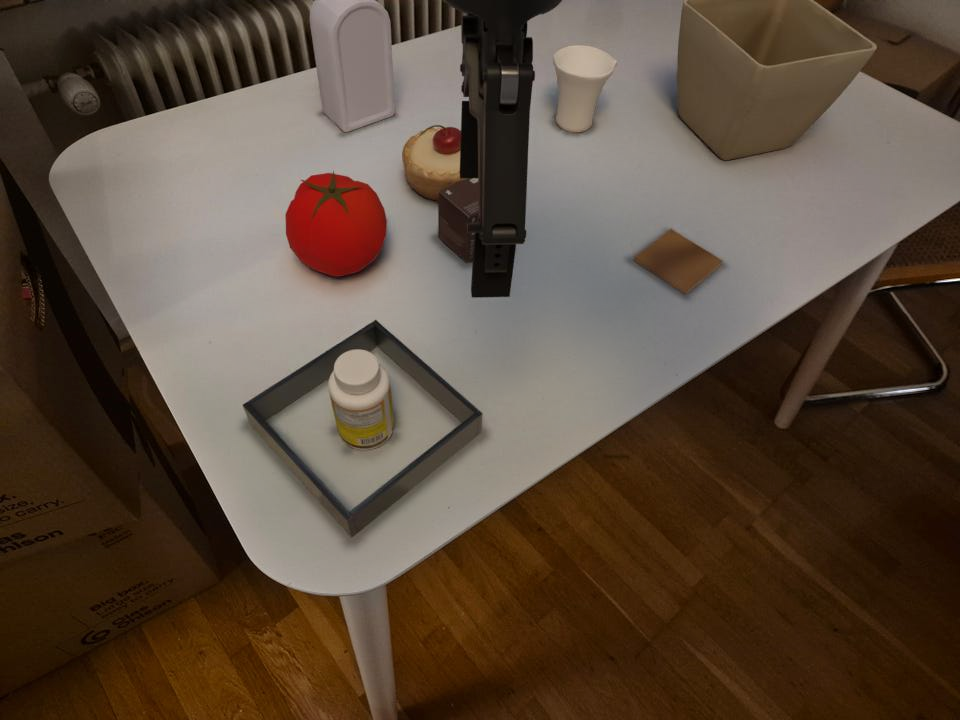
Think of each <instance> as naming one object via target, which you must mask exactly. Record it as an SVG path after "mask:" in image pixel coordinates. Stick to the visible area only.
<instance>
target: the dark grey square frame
mask: <svg viewBox="0 0 960 720" xmlns="http://www.w3.org/2000/svg"><path fill="white" fill-rule="evenodd" d="M375 348H379V349H380V350H381V351H382V352H383V353H384V354H385V355H386V356H388V358H389V359H391V360H392V361H393V362H394V363H395V364H396V365H397V366H399V367H400V368H401V369H402V370H403V371H404V372H405V373H406V374H407V375H408V376H409V377H411V378H412V379H413V380H414V381H415V382H416V383H417V384H418V385H420V386H421V387H422V388H423V389H424V390H425V391H426V392H428V394H430V395H431V396H432V397H433V398H434V399H435V400H436V401H437V402H438V403H440V404H441V405H442V406H443V407H444V408H445V409H446V410H448V411H449V413H451V414H452V415H453V416H454V417H455V418H456V419H458V420H459V421H460V422H461V423H460V424H459V425H457V426H456V427H455V428H454V429H452V430H451V431H450V432H449V433H447V434H446V435H444V436H443V437H442V438H441V439H440V440H438V441H437V442H436V443H435V444H433V445H432V446H431V447H430V448H428V449H427V450H426V451H424V452H423V453H422V454H421V455H419V456H418V457H417V458H416V459H414V460H413V461H412V462H410V463H409V464H408V465H406V467H404V468H403V469H402V470H400V471H399V472H397V474H395V475H394V476H393V477H392V478H390V479H389V480H388V481H386V482H385V483H384V484H382V485H381V486H380V487H379V488H377V489H376V490H375V491H373V493H371V494H370V495H369V496H367V497H366V498H365V499H363V500H362V501H361V502H360V503H359V504H357V505H356V506H355V507H354V508H352V509H351V510H350V511H349V510H348V509H347V508H346V507H345V506H344V505H343V504H342V503H341V501H340V500H338V498H337V497H336V496H335V495H334V494H333V493H332V492H331V491H330V490H329V489H328V487H327V486H326V485H325V484H324V483H323V482H322V481H321V479H320V478H319V477H318V476H317V475H316V474H315V473H314V472H313V471H312V470H311V469H310V468H309V467H308V466H307V464H306V463H304V461H303V460H302V459H301V458H300V457H299V456H298V455H297V453H296V452H295V451H294V450H293V449H292V448H291V447H290V446H289V445H288V444H287V443H286V442H285V441H284V439H283V437H281V436H280V435H279V434H278V433H277V432H276V430H274V428H273V427H272V426H271V425H270V424H269V423H268V422H267V420H268V419H270V418H271V417H273V416H274V415H277V413H279V412H280V411H282V410H284V408H285V409H286V407H288V406H290V405H291V404H292V403H294V402H295V401H297V400H298V399H300V398H301V397H303V396H305V395H306V394H308V393H309V392H310V391H312V390H313V389H315V388H317V387H318V386H320V385H321V384H323V383H324V382H326V381H327V380H329V378H330V375H331V374H332V372H333V370H334V364H335V362H336V360H337V358H338V357H339V356H340V355H342V354H343V353H345V352H347V351H350V350H356V349H360V350H366V351H368V352H372V351H373V350H374V349H375ZM242 408H243V410H244V413H245V415H246V418H247V420H248V422H249V425H250V427H252V429H253V430H254V431H255V432H256V433H257V434H258V435H259V436H260V438H262V440H263V441H264V442H265V443H266V444H267V445H268V446H269V447H270V448H271V450H272V451H273V452H274V453H275V454H276V455H277V457H279V459H280V460H281V461H282V462H283V463H284V464H285V465H286V466H287V468H288V469H289V470H290V471H291V472H292V473H293V474H294V475H295V476H296V477H297V479H298V480H299V481H300V482H301V483H302V485H304V486H305V488H306V489H307V490H308V491H309V492H310V494H312V496H313V497H314V498H315V499H316V500H317V501H318V502H319V503H320V505H322V507H323V508H324V509H325V510H326V511H327V512H328V513H329V515H331V516H332V518H333V519H334V520H335V521H336V522H337V523H338V525H340V526H341V527H342V529H343V530H344V531H345V532H346V533H347V534H348V535H349V537H350V538H353V537H354V536H356V535H357V534H358V533H359V532H361V531H362V530H363V529H365V528H366V527H367V526H368V525H369V524H370V523H372V522H373V521H374V520H376V519H377V518H378V517H379V516H381V515H382V514H383V513H384V512H385V511H386V510H388V509H389V508H390V507H392V506H393V505H394V504H395V503H396V502H397V501H399V500H400V499H401V498H402V497H404V496H405V495H406V494H407V493H409V492H410V491H411V490H412V489H413V488H415V487H416V486H417V485H418V484H420V483H421V482H422V481H423V480H425V479H426V478H427V477H428V476H429V475H431V474H432V473H433V472H434V471H436V470H437V469H438V468H439V467H441V466H442V465H443V464H444V463H446V461H448V460H450V458H451V457H452V456H454V455H455V454H457V453H458V452H459V451H460V450H462V448H464V447H465V446H466V445H468V444H469V443H470V442H471V441H473V440H474V439H475V438H476V437H477V436H479V434H481V433H482V425H483V423H482V422H483V414H484V413H483V412H482V411H481V410H480V409H478V408H477V407H476V406H475V405H474V404H473V403H472V402H470V401H469V400H468V399H467V398H466V397H465V396H464V395H463V394H462V393H460V392H459V391H458V390H456V389H455V387H453V386H452V385H451V384H450V383H449V382H447V381H446V380H445V379H444V378H443V377H442V376H441V375H440V374H439V373H437V372H436V371H435V370H434V369H433V368H431V367H430V366H429V365H428V364H427V363H426V362H425V361H423V359H421V358H420V357H419V356H418V355H417V354H416V353H414V352H413V350H411V349H410V348H409V347H408V346H406V345H405V344H404V343H403V342H402V341H400V339H399V338H398V337H396V335H394V334H393V333H392V332H391V331H389V330H388V329H387V328H386V327H385V326H384V325H383V324H382V323H380V322H379V321H378V320H377V319H375V320H373V321H372V322H370V323H368V324H367V325H365V326H364V327H362V328H361V329H359V330H357V331H356V332H354V333H352V334H351V335H349V336H348V337H346V338H344V339H343V340H342V341H340V342H338V343H337V344H335V345H334V346H332V347H330V348H329V349H328V350H326V351H325V352H323V353H321V354H319V355H318V356H316V357H315V358H313V359H311V360H310V361H309V362H307V363H305V364H304V365H303V366H301V367H299V368H298V369H296V370H294V371H293V372H291V373H290V374H288V375H287V376H285V377H284V378H282V379H281V380H279V381H277V382H275V383H274V384H273V385H271V386H269V387H268V388H266V389H265V390H263V391H262V392H260V393H259V394H257V395H255V396H254V397H252V398H251V399H249V400H248V401H246V402H244V403H243V404H242Z"/></svg>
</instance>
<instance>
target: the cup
mask: <svg viewBox="0 0 960 720" xmlns="http://www.w3.org/2000/svg"><path fill="white" fill-rule="evenodd" d="M552 62H553V66H554V69H555V73H556V85H557V91H558V94H557V95H558V96H557V97H558V99H557V108H556V109H557V110H556V116H555V122H556V124H557V126H558V127H559V128H560V129H562V130H563V131H566V132H568V133H574V134H575V133H583V132H586V131H588V130H589V129H590V128H591V127H592V126H593V120H594V115H595V111H596V110H595V109H596V106H597V103H598V100H599V97H600V94H601V93H602V91H603V88H604V86H605V85H606V83H607V82H608V80H609V79H610V78H611V76H612V75H613V74H614V72H615V70H616V68H617V66H618V64H619V62H618V59H617V58H613V57H612V55H610V54H609V53H607V52H606V51H605V50H602V49H600V48H597V47H594V46H589V45H583V44H582V45H581V44H580V45H579V44H575V45H569V46H565V47H562V48H560V49H558V50H557V51H555V53H554V55H553V56H552Z"/></svg>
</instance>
